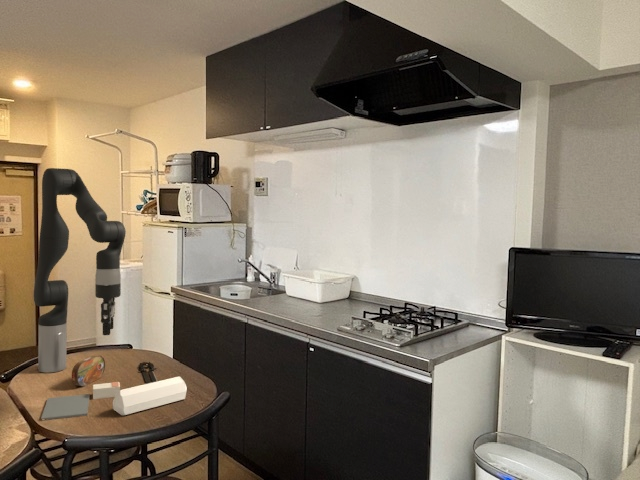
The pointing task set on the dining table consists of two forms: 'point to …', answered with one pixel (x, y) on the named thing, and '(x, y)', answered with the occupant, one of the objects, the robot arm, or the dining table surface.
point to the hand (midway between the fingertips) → (108, 332)
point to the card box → (105, 390)
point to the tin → (88, 370)
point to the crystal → (149, 395)
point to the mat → (66, 407)
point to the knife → (145, 373)
